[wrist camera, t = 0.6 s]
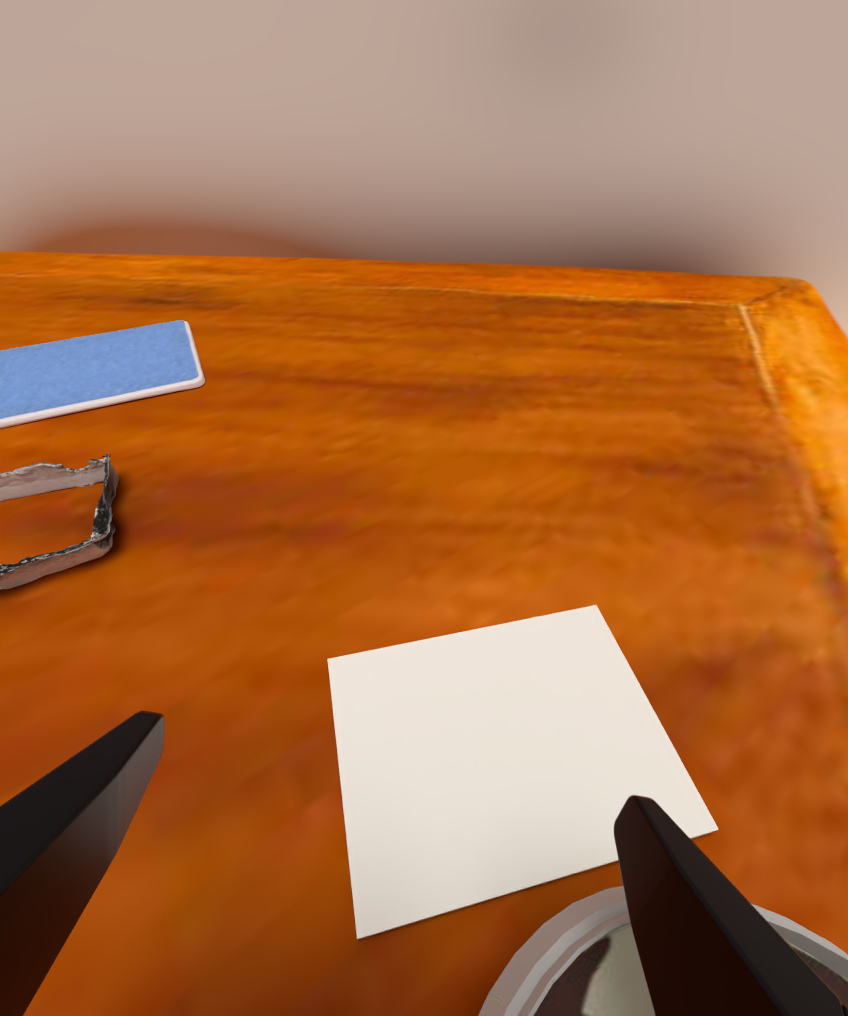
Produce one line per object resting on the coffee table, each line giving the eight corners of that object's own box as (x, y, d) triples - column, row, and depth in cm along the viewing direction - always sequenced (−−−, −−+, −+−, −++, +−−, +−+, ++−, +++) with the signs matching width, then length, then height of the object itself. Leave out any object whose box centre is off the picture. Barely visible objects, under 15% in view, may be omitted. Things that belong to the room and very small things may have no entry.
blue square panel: (-57, 448, 37) (-70, 434, 36) (-32, 366, 45) (-42, 353, 44) (209, 392, 43) (204, 379, 42) (191, 328, 51) (187, 316, 50)
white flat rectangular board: (711, 832, 21) (718, 829, 20) (358, 939, 18) (357, 938, 18) (593, 610, 28) (596, 605, 28) (328, 664, 25) (327, 659, 25)
